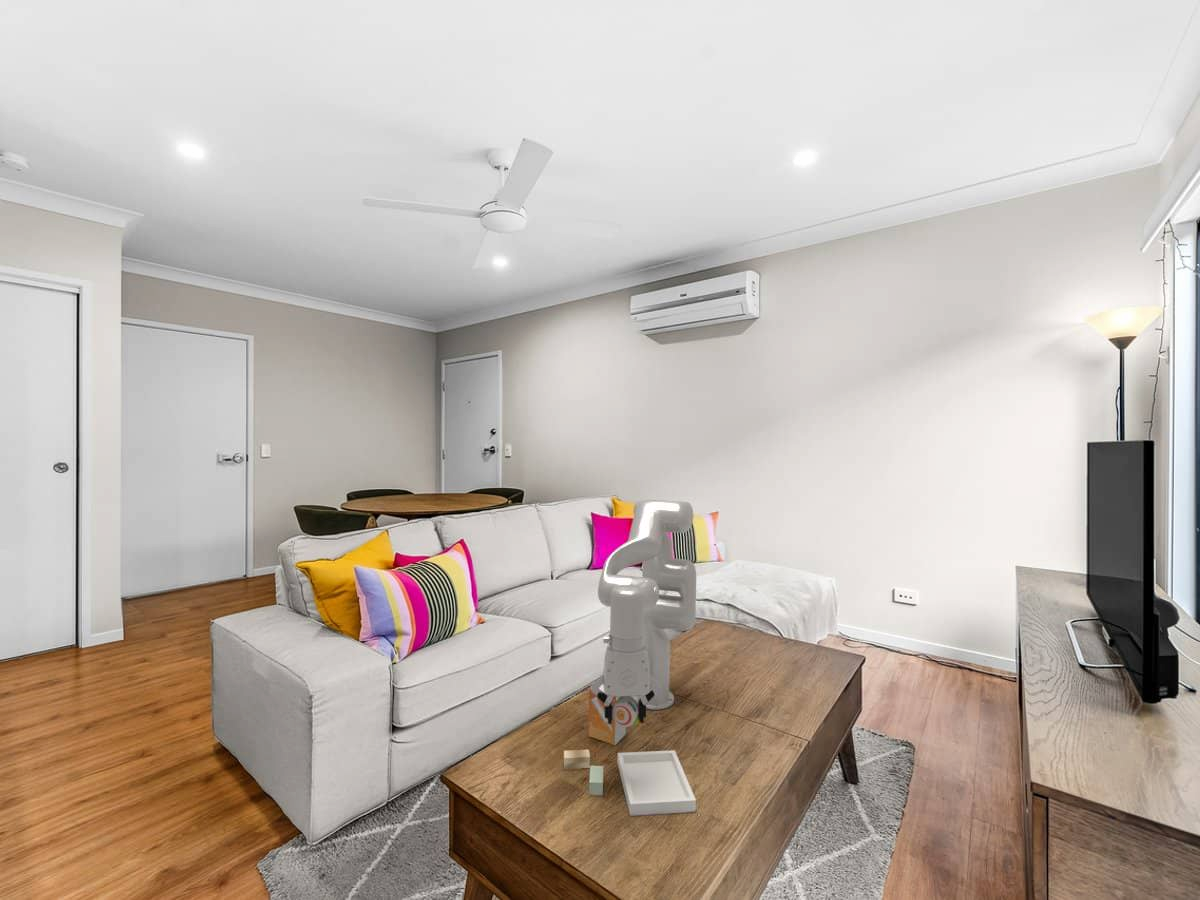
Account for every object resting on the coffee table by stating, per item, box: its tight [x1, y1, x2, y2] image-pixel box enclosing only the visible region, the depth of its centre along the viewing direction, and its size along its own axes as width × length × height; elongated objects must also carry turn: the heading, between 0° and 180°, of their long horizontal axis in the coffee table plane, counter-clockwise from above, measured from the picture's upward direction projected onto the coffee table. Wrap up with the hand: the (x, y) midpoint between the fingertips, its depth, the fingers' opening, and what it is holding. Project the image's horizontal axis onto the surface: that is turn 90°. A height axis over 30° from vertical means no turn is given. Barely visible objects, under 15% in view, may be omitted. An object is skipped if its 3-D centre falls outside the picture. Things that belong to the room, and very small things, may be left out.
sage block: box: [588, 765, 604, 796], centre depth 122 cm, size 6×3×3 cm, turn 179°
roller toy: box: [612, 696, 640, 728], centre depth 121 cm, size 4×6×6 cm
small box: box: [587, 685, 627, 746], centre depth 142 cm, size 8×6×13 cm
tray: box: [617, 749, 697, 817], centre depth 122 cm, size 18×14×2 cm
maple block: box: [563, 749, 591, 770], centre depth 129 cm, size 6×3×3 cm, turn 96°
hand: (625, 719), depth 121 cm, fingers closed on roller toy, 6 cm apart
